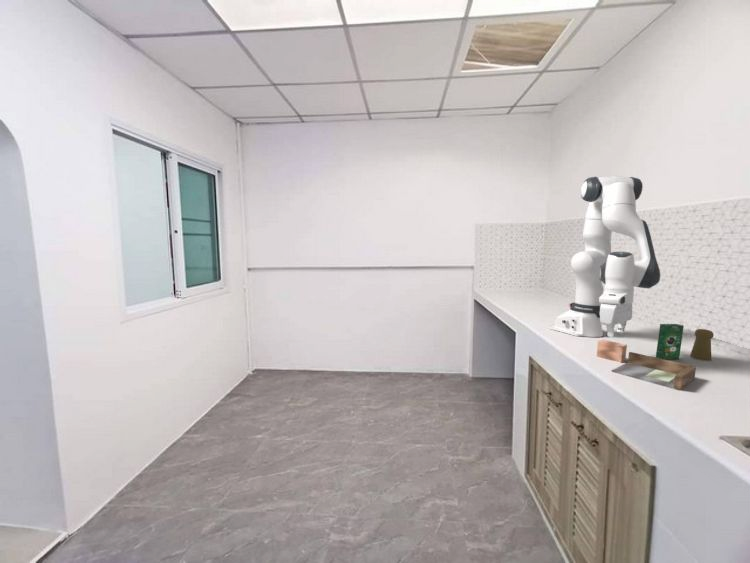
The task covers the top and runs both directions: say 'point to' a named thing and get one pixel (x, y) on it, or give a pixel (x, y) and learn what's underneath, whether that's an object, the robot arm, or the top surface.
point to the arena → (657, 371)
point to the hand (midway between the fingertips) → (616, 334)
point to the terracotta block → (611, 350)
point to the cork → (702, 345)
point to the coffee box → (669, 341)
